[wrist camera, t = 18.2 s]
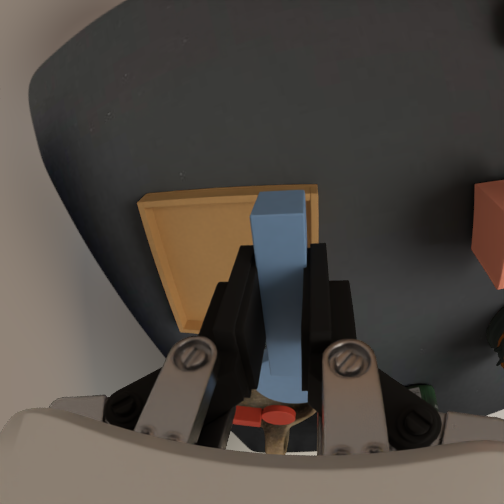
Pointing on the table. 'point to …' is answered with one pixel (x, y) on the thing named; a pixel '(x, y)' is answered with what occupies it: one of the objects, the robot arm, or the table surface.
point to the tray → (205, 240)
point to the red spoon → (264, 415)
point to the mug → (497, 335)
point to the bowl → (277, 433)
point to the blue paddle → (281, 289)
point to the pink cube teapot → (489, 229)
